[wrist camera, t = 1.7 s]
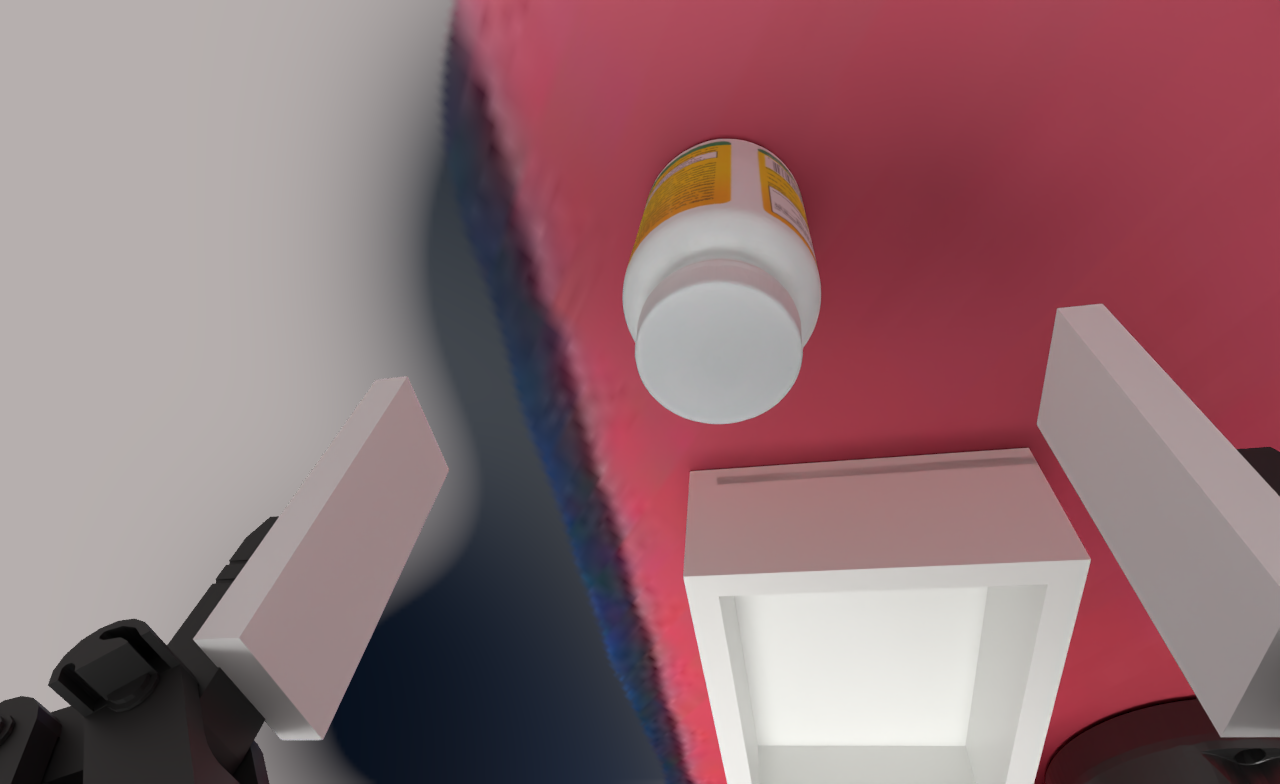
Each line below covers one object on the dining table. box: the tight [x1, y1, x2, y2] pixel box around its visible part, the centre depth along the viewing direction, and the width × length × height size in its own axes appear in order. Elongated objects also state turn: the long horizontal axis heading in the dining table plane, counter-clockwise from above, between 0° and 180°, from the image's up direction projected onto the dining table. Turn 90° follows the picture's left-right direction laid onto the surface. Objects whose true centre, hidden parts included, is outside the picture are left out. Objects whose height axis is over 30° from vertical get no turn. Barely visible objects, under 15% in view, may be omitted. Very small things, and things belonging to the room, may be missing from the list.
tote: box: [683, 448, 1091, 784], centre depth 34 cm, size 22×14×6 cm, turn 10°
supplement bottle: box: [623, 139, 821, 424], centre depth 21 cm, size 5×5×10 cm
